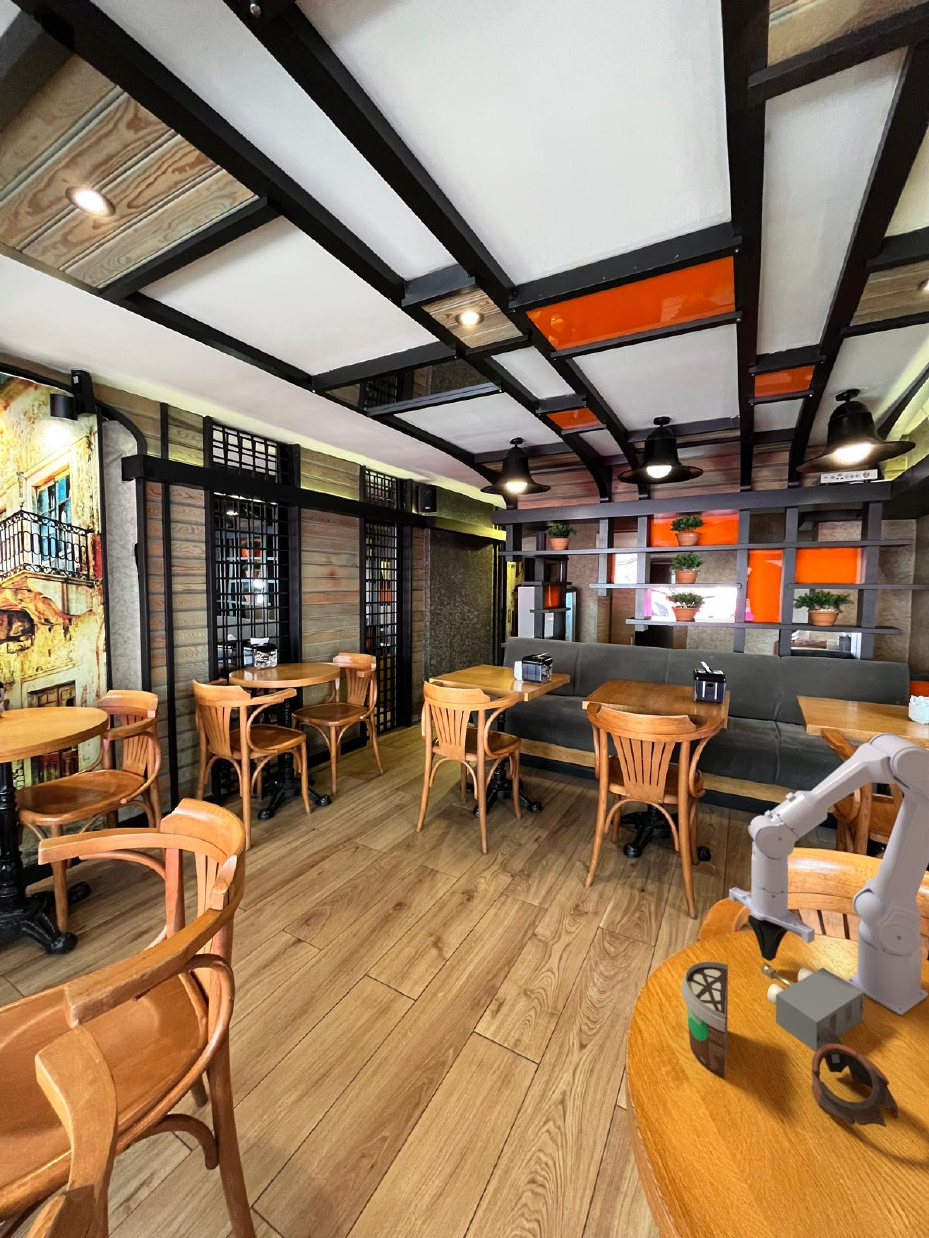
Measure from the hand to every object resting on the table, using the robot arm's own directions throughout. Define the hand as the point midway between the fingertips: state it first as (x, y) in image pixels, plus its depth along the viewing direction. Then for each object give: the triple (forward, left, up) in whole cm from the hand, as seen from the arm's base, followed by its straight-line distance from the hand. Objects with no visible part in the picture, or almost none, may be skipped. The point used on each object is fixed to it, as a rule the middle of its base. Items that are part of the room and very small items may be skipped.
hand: (768, 957), depth 91 cm
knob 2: (0, +10, -1) cm, 10 cm away
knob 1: (+8, +10, -1) cm, 13 cm away
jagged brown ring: (+14, +20, -2) cm, 25 cm away
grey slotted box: (+4, +11, -2) cm, 12 cm away
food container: (+24, +5, -2) cm, 25 cm away
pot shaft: (+4, +5, 0) cm, 7 cm away
